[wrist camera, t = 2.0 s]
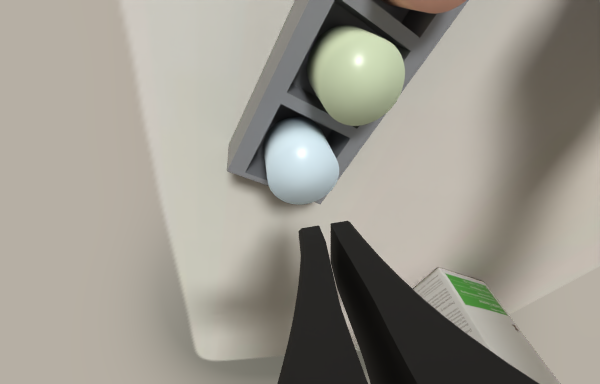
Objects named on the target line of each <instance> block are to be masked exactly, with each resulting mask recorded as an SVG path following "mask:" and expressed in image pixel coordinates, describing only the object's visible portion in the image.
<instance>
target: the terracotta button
mask: <svg viewBox="0 0 600 384" xmlns="http://www.w3.org/2000/svg"><path fill="white" fill-rule="evenodd" d="M382 1H383V2H385V3H386V4H389V5H392V6H396V7H401V8H406V9H411V10H416V11H421V12H426V13H434V14H436V13H443V12H447V11H449V10H452V9H454V8H456V7H458V6H459V5H461V4H462V3H464V2H465V1H466V0H382Z"/></svg>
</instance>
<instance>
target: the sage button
mask: <svg viewBox="0 0 600 384" xmlns="http://www.w3.org/2000/svg"><path fill="white" fill-rule="evenodd" d="M307 75H308V80H309V83H310V85H311V87H312V88H313V90H314V92H315V93H316V95H317V96H318V98H319V100H320V101H321V103H322V104H323V106H324V108H325V109H326V111H327V112H328V114H329V115H330V116H331V117H332V118H333V119H335V120H336V121H338V122H340V123H342V124H345V125H350V126H360V125H365V124H369V123H371V122H374V121H376V120H377V119H379V118H380V117H382V116H383V115H384V114H386V113H387V112H388V111H389V110H390V109H391V108H392V106H393V105H394V104H395V102H396V101H397V99H398V97H399V95H400V93H401V91H402V88H403V84H404V79H405V66H404V62H403V59H402V56H401V54H400V52H399V51H398V49H397V48H396V47H395V46H394V45H393V44H392V43H391V42H389V41H387V40H386V39H383V38H381V37H379V36H377V35H375V34H372V33H370V32H368V31H366V30H363V29H361V28H359V27H356V26H352V25H340V26H336V27H334V28H331V29H330V30H328V31H326V32H325V33H324V34H322V35H321V36H320V37H319V38H318V40H317V41H316V42H315V44H314V45H313V47H312V49H311V51H310V54H309V57H308V61H307Z"/></svg>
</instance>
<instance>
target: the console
mask: <svg viewBox="0 0 600 384" xmlns="http://www.w3.org/2000/svg"><path fill="white" fill-rule="evenodd" d="M467 2H468V0H466V1H465V2H464V3H462V4H461V5H459V6H458V7H456V8H454V9H452V10H449V11H447V12H443V13H436V14H434V13H426V12H421V11H416V10H411V9H406V8H401V7H396V6H392V5H389V4H386V3H385V2H383V1H382V0H295V2H294V4H293V6H292V8H291V10H290V13H289V15H288V17H287V19H286V21H285V23H284V26H283V28H282V30H281V32H280V34H279V36H278V39H277V41H276V43H275V45H274V47H273V50H272V52H271V54H270V56H269V58H268V60H267V63H266V65H265V67H264V69H263V71H262V74H261V76H260V78H259V80H258V82H257V84H256V87H255V89H254V91H253V93H252V95H251V97H250V100H249V102H248V104H247V106H246V108H245V111H244V113H243V115H242V117H241V119H240V121H239V124H238V126H237V128H236V130H235V132H234V135H233V137H232V139H231V141H230V143H229V149H228V163H227V171H228V172H231V173H234V174H236V175H239V176H242V177H245V178H248V179H251V180H253V181H256V182H259V183H262V184H265V185H268V180H267V173H266V165H265V157H264V149H263V145H264V140H265V137H266V135H267V133H268V131H269V130H270V129H271V128H272V127H273V126H274V125H275V124H276V123H278V122H280V121H281V120H284V119H287V118H291V117H302V118H306V119H309V120H311V121H313V122H314V123H316V124H317V125H318V126H319V127H320V129H321V130H322V132H323V134H324V136H325V138H326V140H327V142H328V144H329V146H330V148H331V149H332V151H333V153H334V155H335V157H336V159H337V161H338V164H339V177H338V179H339V178H340V176H341V175H342V174H343V172H344V171H345V169H346V168H347V167H348V165H349V164H350V163H351V161H352V160H353V158H354V157H355V156H356V154H357V153H358V152H359V150H360V149H361V147H362V146H363V145H364V143H365V142H366V141H367V139H368V138H369V136H370V135H371V134H372V132H373V131H374V130H375V128H376V127H377V125H378V124H379V123H380V121H381V120H382V119H383V117H384V116H385V114H384V115H383V116H382V117H380V118H379V119H377V120H376V121H374V122H371V123H369V124H365V125H360V126H350V125H345V124H342V123H340V122H338V121H336V120H335V119H333V118H332V117H331V116H330V115H329V114H328V112H327V111H326V109H325V108H324V106H323V104H322V103H321V101H320V100H319V98H318V96H317V95H316V93H315V92H314V90H313V88H312V87H311V85H310V83H309V80H308V75H307V61H308V57H309V54H310V51H311V49H312V47H313V45H314V44H315V42H316V41H317V40H318V38H319V37H320V36H321V35H322V34H324V33H325V32H326V31H328V30H330V29H331V28H334V27H336V26H340V25H352V26H356V27H359V28H361V29H363V30H366V31H368V32H370V33H372V34H375V35H377V36H379V37H381V38H383V39H386V40H387V41H389V42H391V43H392V44H393V45H394V46H395V47H396V48H397V49H398V51H399V52H400V54H401V56H402V59H403V62H404V66H405V79H404V84H403V88H402V91H403V90H404V88H405V87H406V86H407V84H408V83H409V81H410V80H411V79H412V77H413V76H414V75H415V73H416V72H417V70H418V69H419V68H420V66H421V65H422V64H423V62H424V61H425V59H426V58H427V57H428V55H429V54H430V53H431V51H432V50H433V48H434V47H435V46H436V44H437V43H438V42H439V40H440V39H441V37H442V36H443V35H444V33H445V32H446V31H447V29H448V28H449V26H450V25H451V24H452V22H453V21H454V20H455V18H456V17H457V15H458V14H459V13H460V11H461V10H462V9H463V7H464V6H465V4H466V3H467ZM402 91H401V92H402ZM400 94H401V93H400ZM268 186H269V185H268ZM326 196H327V195H326ZM326 196H324V197H323V198H321V199H319V200H317V201H315V202H316V203H318V204H321V202H322V201H323V200H324V198H325V197H326Z"/></svg>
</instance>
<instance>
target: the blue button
mask: <svg viewBox="0 0 600 384" xmlns="http://www.w3.org/2000/svg"><path fill="white" fill-rule="evenodd" d="M263 149H264V157H265V165H266V173H267V180H268V185H269V188H270V190H271V191H272V193H273V194H274V195H275V196H276V197H277V198H279V199H280V200H282V201H284V202H287V203H290V204H299V205H300V204H308V203H312V202H315V201H317V200H319V199H321V198H323V197H324V196H326V195H327V194H328V193H329V192H330V191H331V190H332V189H333V187H334V186H335V184H336V182H337V180H338V177H339V164H338V161H337V159H336V157H335V155H334V153H333V151H332V149H331V148H330V146H329V144H328V142H327V140H326V138H325V136H324V134H323V132H322V130H321V129H320V127H319V126H318V125H317V124H316V123H314V122H313V121H311V120H309V119H306V118H302V117H291V118H287V119H284V120H281V121H280V122H278V123H276V124H275V125H274V126H273V127H272V128H271V129H270V130H269V131H268V133H267V135H266V137H265V140H264V145H263Z"/></svg>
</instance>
